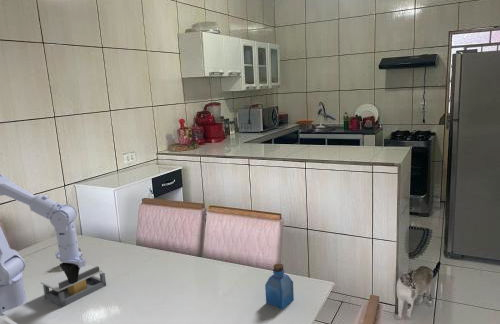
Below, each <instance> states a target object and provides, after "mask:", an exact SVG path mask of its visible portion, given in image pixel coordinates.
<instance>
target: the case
mask: <svg viewBox="0 0 500 324" xmlns="http://www.w3.org/2000/svg"><path fill="white" fill-rule="evenodd" d="M86 284H87V289H85V290H83V291H80V292H78V293H76V294H74V295H70V294H68V288H65V289H63V290H61V291H59V292H57V291H55V290H53V289H50V288H49V287H47V286H45V285H43V284H42V286H43V287H42V289H43V294H44V299H46V300H48V301H49V302H51V303H53V304H54V305H57V306H58V307H61V308H64V307H67V306H68V305H71V304H73V303H75V302H76V301H79V300H80V299H83V298H84V297H87V296H89V295H91V294H92V293H94V292H97V291H99V290H101V289H103V288H104V287H106V286H107V280H106V273H105V272H103V271H102V272H100V273H99V277H96V275H94V276H92V277H89V278H87V279H86Z"/></svg>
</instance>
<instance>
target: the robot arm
mask: <svg viewBox="0 0 500 324" xmlns="http://www.w3.org/2000/svg"><path fill="white" fill-rule="evenodd" d="M0 196H6V197H9V198H10V199H13V200H16V201H18V202H20V203H22V204H25V205H28V206H29V208H30V209H29V210H30V211H31V212H33V213H35V214H37V215H39V216H40V217H43V218H45V219H47V220H49V222H50V224H51V225H52V226H53V228H54V231H55V235H56V241H57V247H58V251H57V252H55V259H57V260H59V262H60V263H59V265H58V266H59V267H60V268H61V270H62V271H63V272H65V274H66V276H67V278H68V281H69V283H70V284H74V283H76V282H78V275H79V270H80V268H81V267H83V266H86V264H87V263H86V260H85V259H84V258H83V252H80V251H79V249H78V247H79V243H78V237H77V230H76V229H77V228H76V222H75V220H76V219H77V216H78V215H77V214H78V213H77V210H76V208H75V207H74V206H72V205H71V204H67V203H66V204H63V203H61V202H57V201H55V200H53V199H52V198H50V196H49V195H47V194H39V195H35V194H34V193H31V192H30V191H28V190H26V189H24V188H23V187H21V186H20V185H17V184H16V183H14V182H13V181H11V180H10V178H9V176H5V175H3V174H2V173H0ZM81 255H82V256H81ZM25 268H26V262H25V259H24V258H23V257H22V256H21V255H20V254H19V252H18V251H17V250H16V249H13V248H11V247H10V245H9V243H8V240H7V237H6V236H5V234H4V231H3V229H2V227H1V226H0V316H5V314H4V313H5V312H6V311H9V310H11V309H15V308H17V307H19V306H22V305H24V304H25V303H26V302H27V294H26V289H25V283H24V278H23V275H24V273H23V271H24V270H25Z"/></svg>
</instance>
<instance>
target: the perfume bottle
mask: <svg viewBox="0 0 500 324" xmlns="http://www.w3.org/2000/svg"><path fill="white" fill-rule="evenodd" d="M272 267H273V269H272V273H273V274H272V275H270V276H269V277H268V279H267V281H266V282H265V285H264V286H265V287H264V289H265V304H267V305H270V306H273V307H276V308H279V309H281V310H283V309H284V308H286V307H287V306H288V305H290V304H291V303H292V302H293V301H294V300H295V299H294V297H295V296H294V280H292V278H291V277H290V276H289V275H288V274H287V273H285V269H284V268H285V267H284V264H282V263H274V264H273V266H272Z"/></svg>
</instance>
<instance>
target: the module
mask: <svg viewBox="0 0 500 324" xmlns="http://www.w3.org/2000/svg"><path fill="white" fill-rule="evenodd" d="M85 289H87V284H86V279H85V280H83V281H81V282H78V283H76V284H74V285H72V286H70V287H68V294H70V295H74V294H76V293H78V292H80V291H83V290H85Z"/></svg>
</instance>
